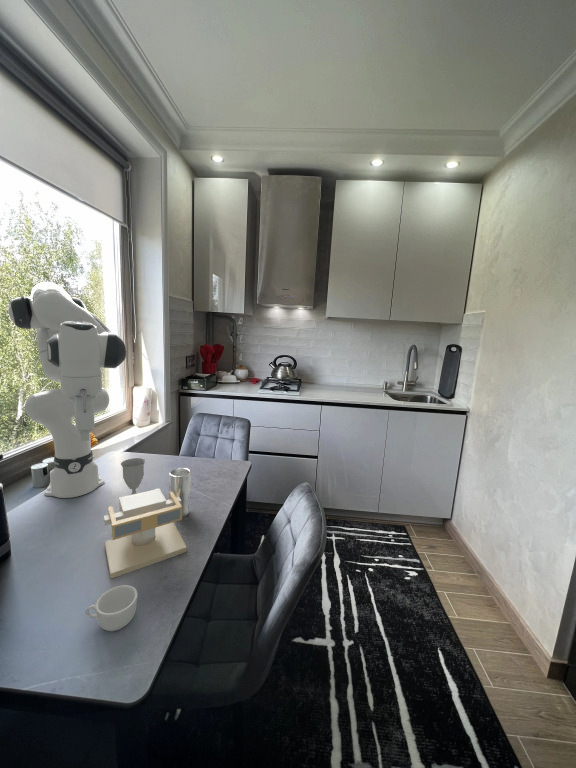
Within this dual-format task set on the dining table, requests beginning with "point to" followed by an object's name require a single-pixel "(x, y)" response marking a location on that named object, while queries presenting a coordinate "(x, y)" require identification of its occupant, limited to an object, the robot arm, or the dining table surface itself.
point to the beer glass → (181, 487)
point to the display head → (142, 535)
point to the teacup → (115, 607)
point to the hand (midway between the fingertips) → (84, 436)
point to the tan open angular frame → (145, 519)
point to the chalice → (133, 472)
